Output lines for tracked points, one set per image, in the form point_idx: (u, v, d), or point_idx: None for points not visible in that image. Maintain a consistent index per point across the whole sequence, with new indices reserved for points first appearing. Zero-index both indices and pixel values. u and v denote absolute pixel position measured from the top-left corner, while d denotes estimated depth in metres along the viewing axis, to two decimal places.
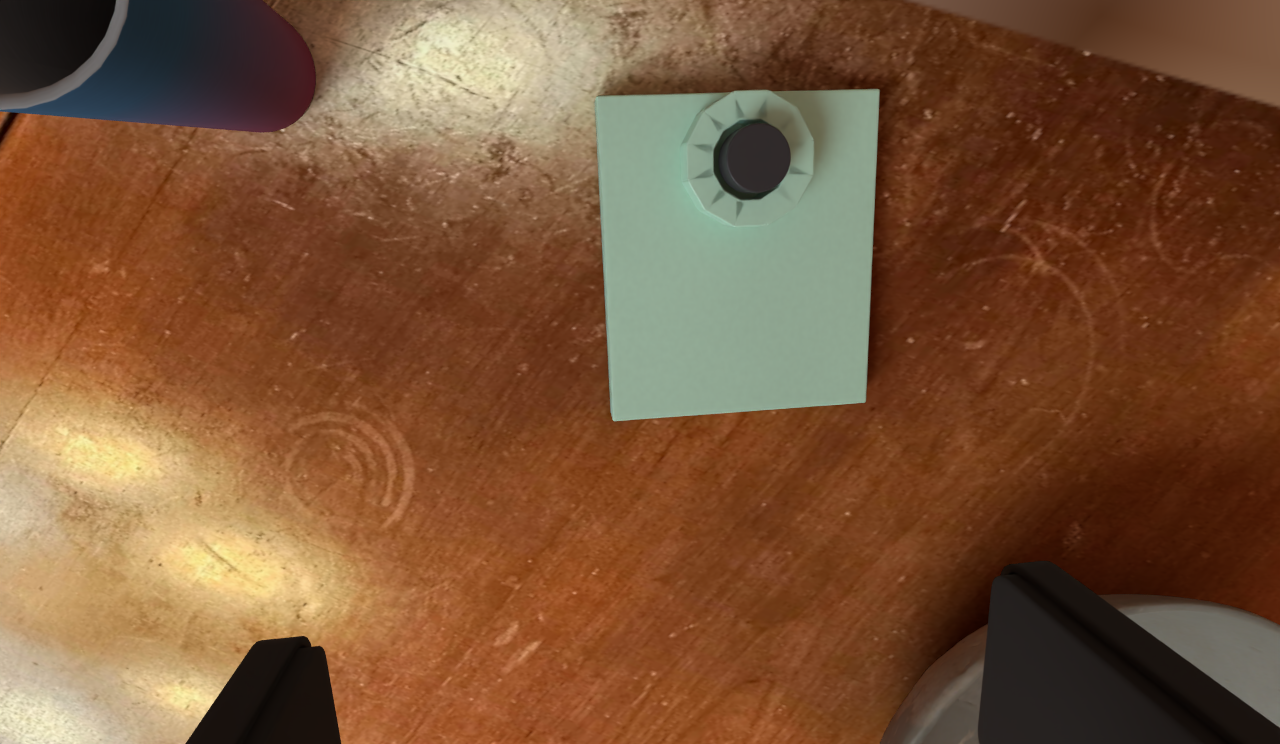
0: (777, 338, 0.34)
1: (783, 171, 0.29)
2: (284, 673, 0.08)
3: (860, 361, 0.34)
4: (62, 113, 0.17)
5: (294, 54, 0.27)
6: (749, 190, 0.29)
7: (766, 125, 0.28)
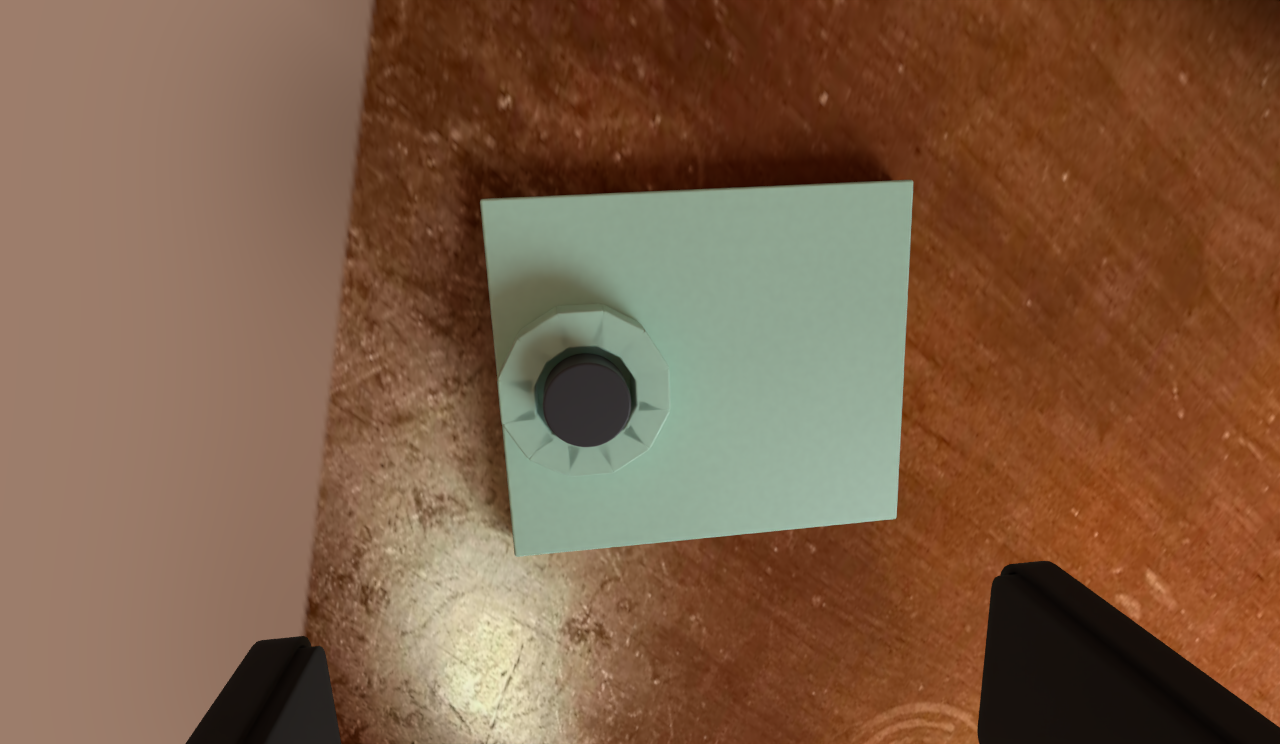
0: (811, 319, 0.25)
1: (603, 372, 0.21)
2: (284, 673, 0.08)
3: (853, 194, 0.24)
4: None
5: None
6: (628, 414, 0.22)
7: (545, 399, 0.21)
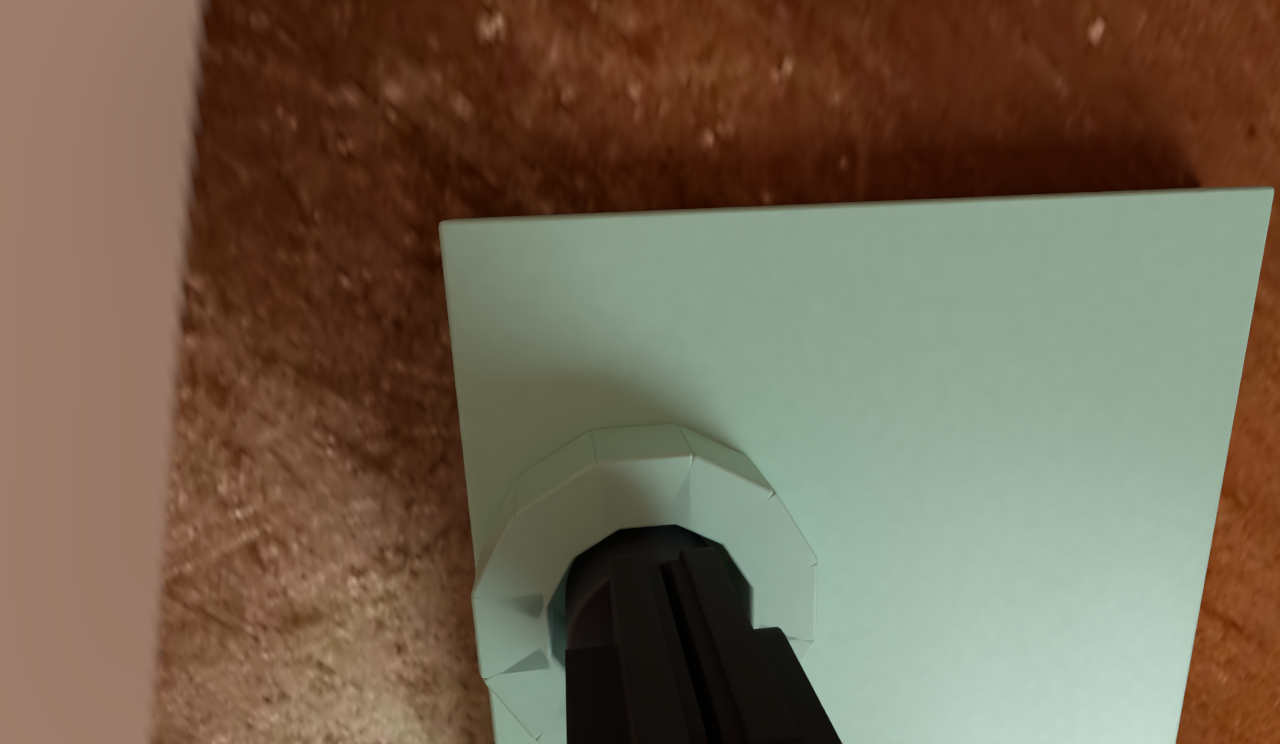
0: (1064, 445, 0.13)
1: None
2: (651, 578, 0.09)
3: (1164, 214, 0.12)
4: None
5: None
6: None
7: (572, 634, 0.10)
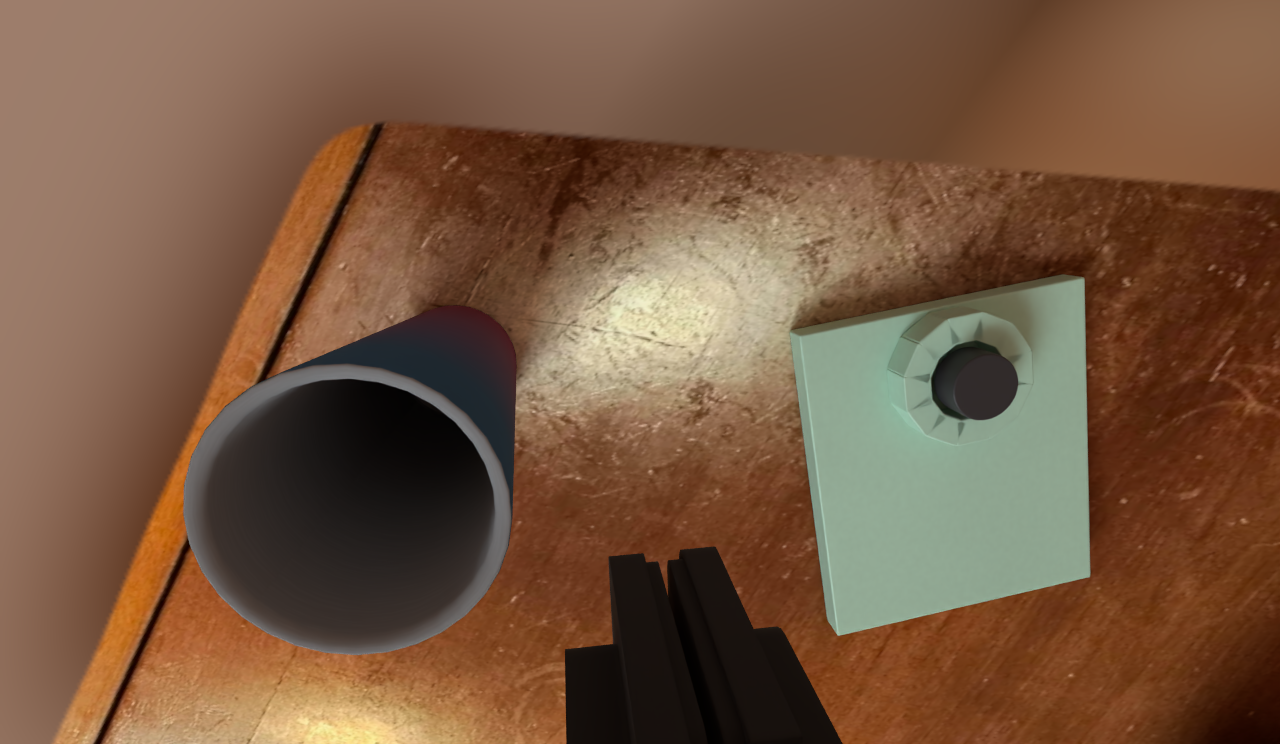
0: (996, 531, 0.32)
1: (1012, 396, 0.28)
2: (650, 578, 0.09)
3: (1082, 539, 0.33)
4: None
5: (513, 364, 0.27)
6: (978, 419, 0.28)
7: (992, 355, 0.27)
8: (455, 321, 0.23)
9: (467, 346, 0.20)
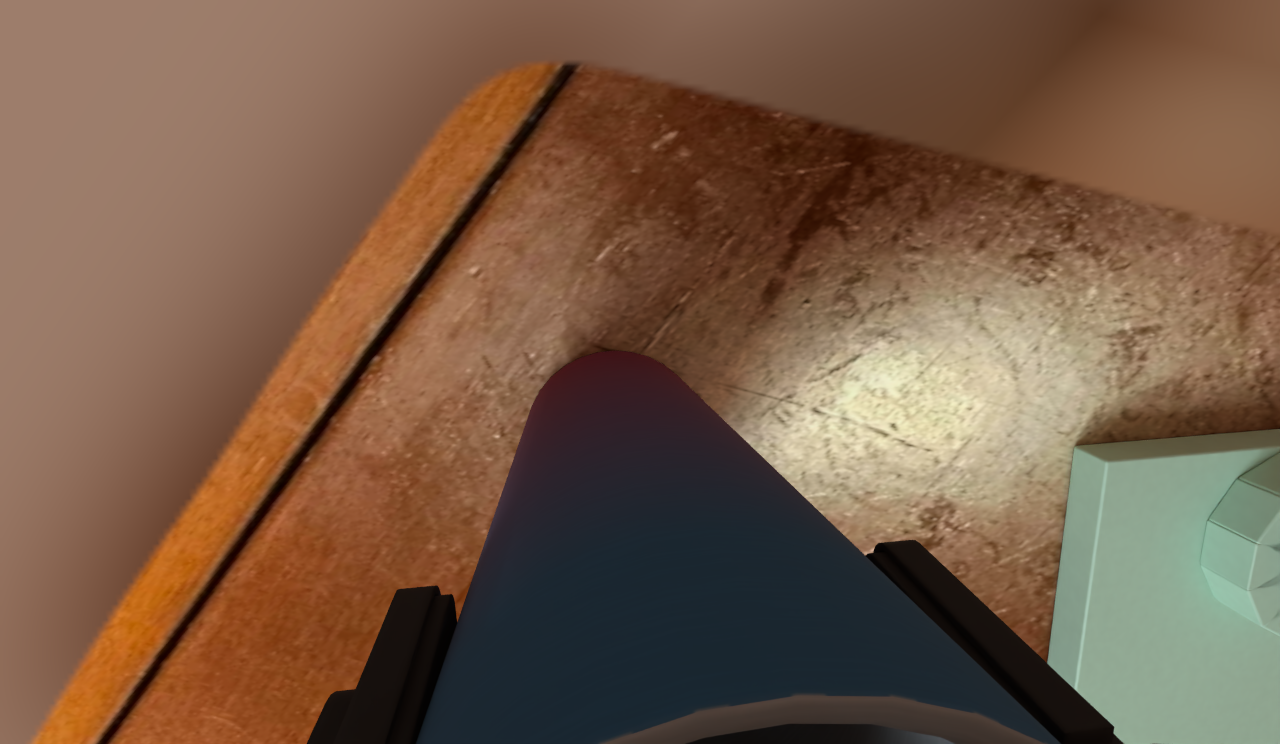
0: None
1: None
2: (430, 614, 0.09)
3: None
4: None
5: None
6: None
7: None
8: (695, 402, 0.14)
9: (787, 481, 0.11)
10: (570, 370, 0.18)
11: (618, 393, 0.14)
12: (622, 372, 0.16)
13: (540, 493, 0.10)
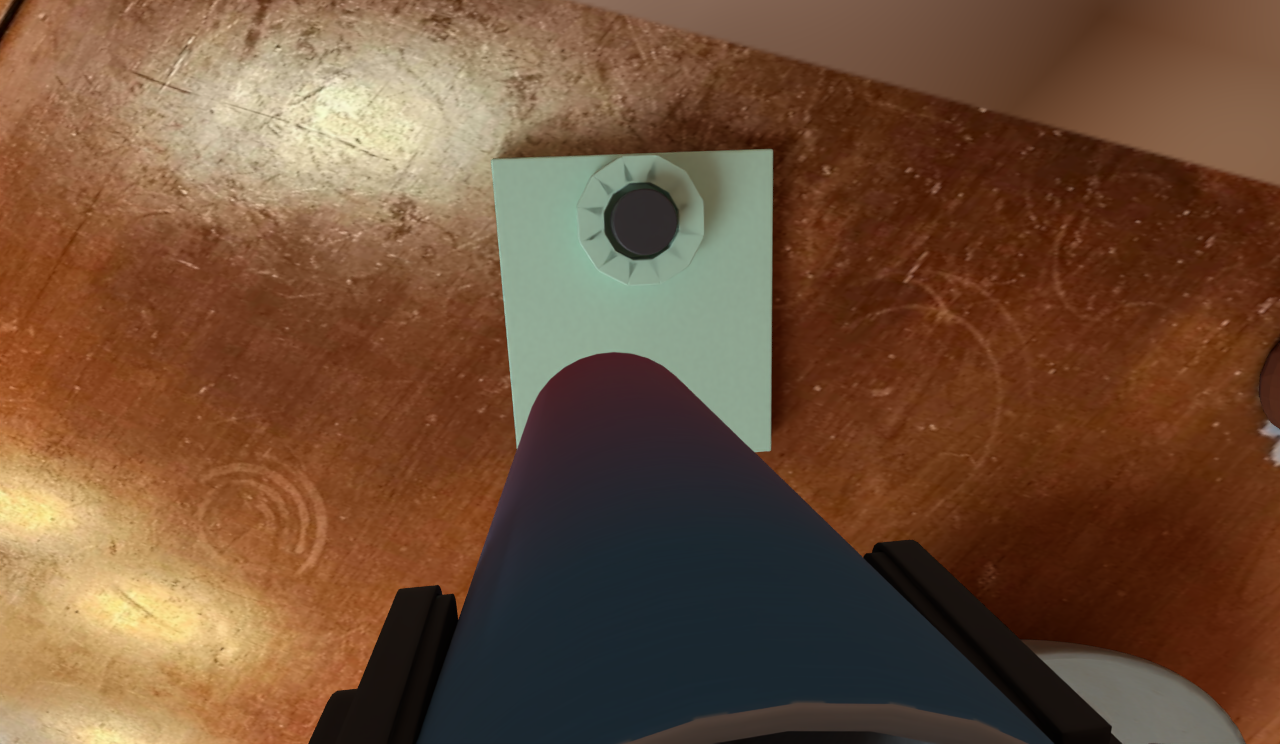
0: None
1: (669, 234, 0.29)
2: (431, 614, 0.09)
3: (763, 411, 0.35)
4: None
5: None
6: (637, 253, 0.30)
7: (651, 190, 0.29)
8: (695, 404, 0.14)
9: (786, 484, 0.11)
10: (569, 372, 0.18)
11: (617, 395, 0.14)
12: (621, 374, 0.16)
13: (539, 496, 0.10)
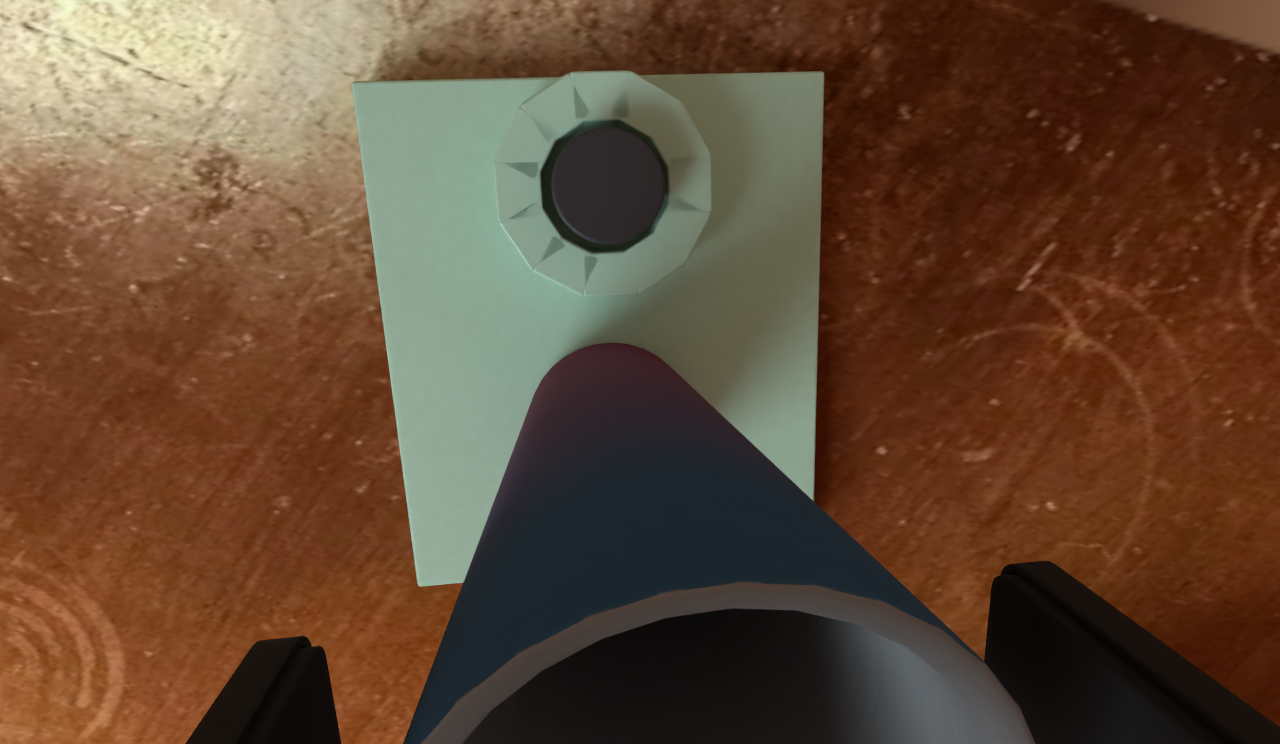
0: None
1: (652, 208, 0.17)
2: (284, 673, 0.08)
3: (802, 490, 0.22)
4: None
5: None
6: (595, 240, 0.17)
7: (618, 130, 0.16)
8: (683, 386, 0.15)
9: (761, 452, 0.12)
10: (569, 360, 0.19)
11: (612, 377, 0.15)
12: (617, 360, 0.17)
13: (541, 459, 0.11)
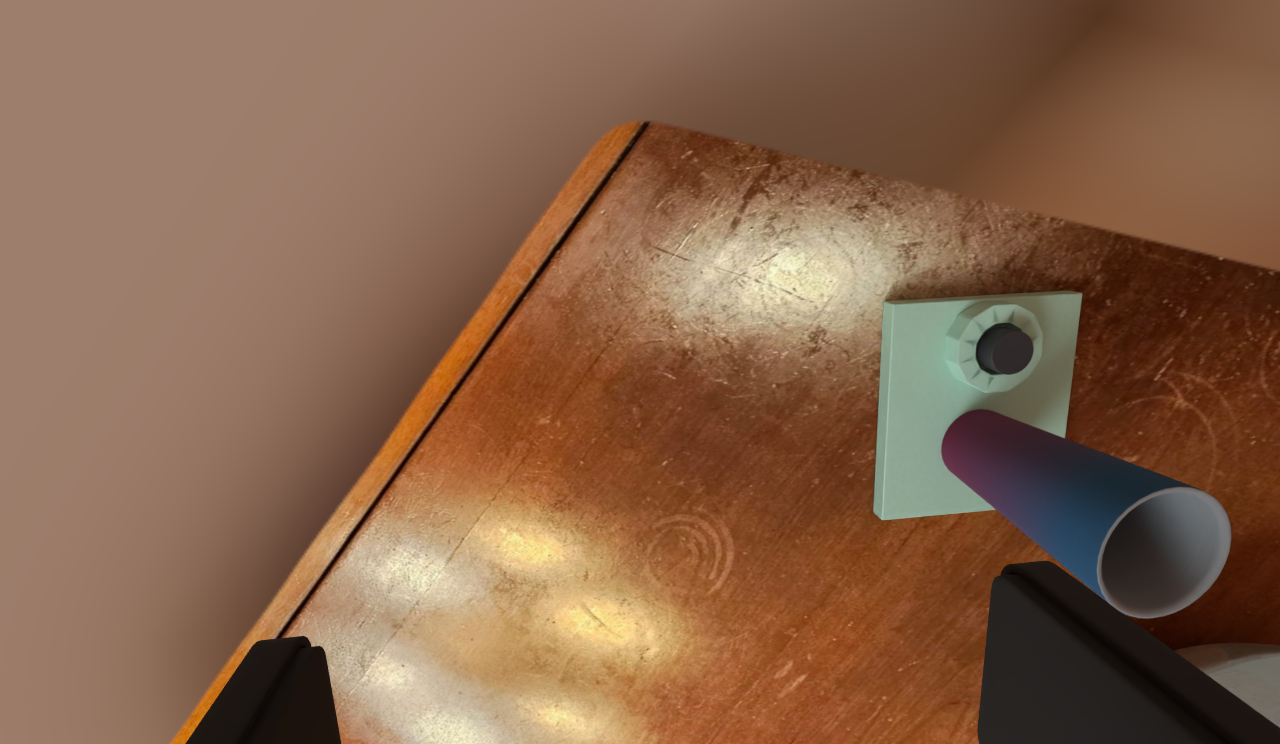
0: None
1: (1028, 361, 0.42)
2: (284, 673, 0.08)
3: None
4: None
5: None
6: (1004, 373, 0.42)
7: (1019, 332, 0.42)
8: None
9: None
10: (973, 418, 0.45)
11: (1031, 431, 0.40)
12: (1011, 421, 0.43)
13: (1054, 462, 0.36)
